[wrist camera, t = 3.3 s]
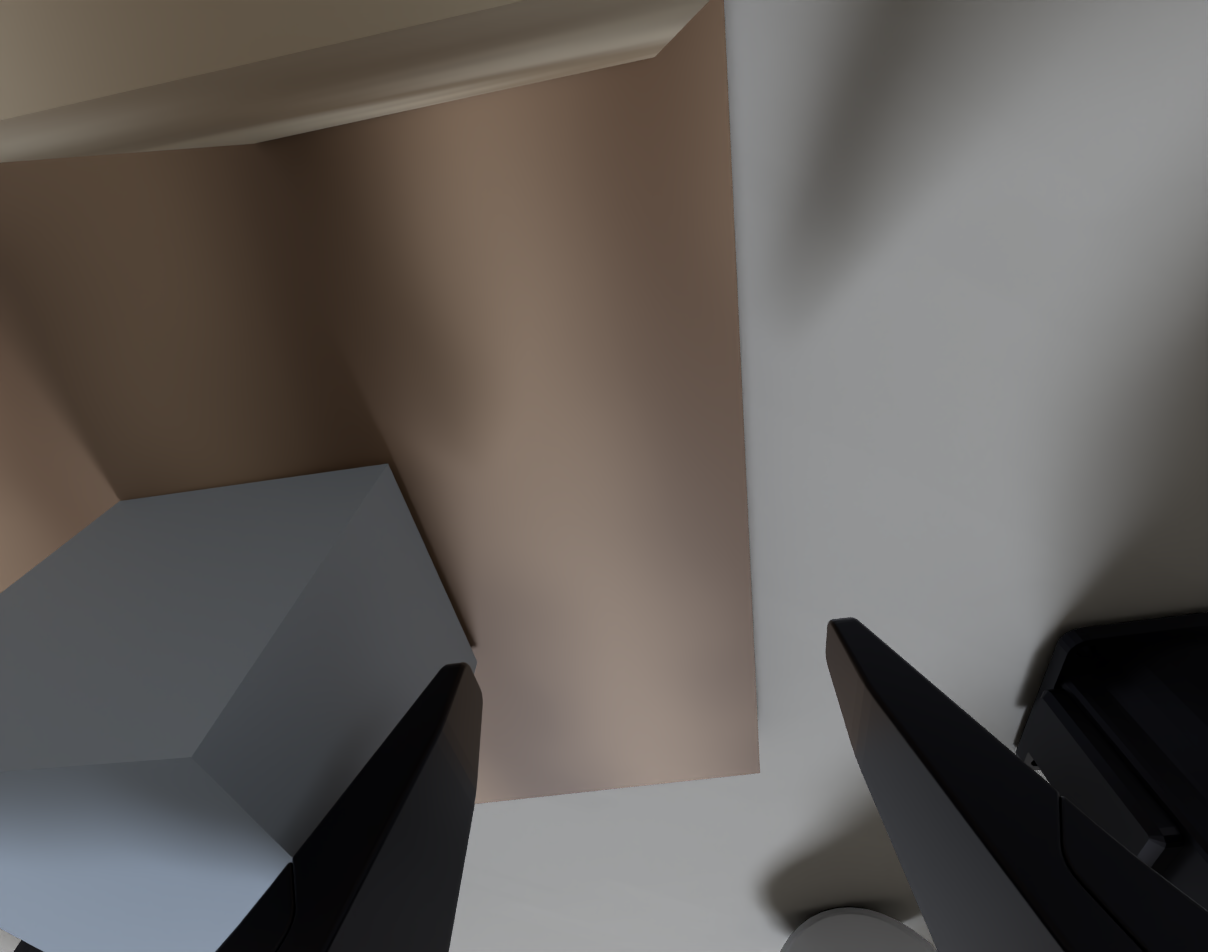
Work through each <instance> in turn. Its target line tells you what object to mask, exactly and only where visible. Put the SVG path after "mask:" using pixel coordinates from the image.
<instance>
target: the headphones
mask: <svg viewBox="0 0 1208 952" xmlns="http://www.w3.org/2000/svg"><path fill="white" fill-rule="evenodd" d="M780 952H938V951H937V950H936V949H935V948H934V947H933V946H932V945H931V944H930V943H929V942H928V941H927V940H925V939H924V938H923V937H922V936H920V935H919V934H918V933H917V932H915V931H914V930H912V929H911V928H909V927H908V926H906V925H904V924H903V923H901V922H899V921H898V920H896V919H893V918H891V917H889V916H886V915H884V914H882V913H878V912H875V911H871V910H868V909H861V908H852V907H848V908H835V909H831V910H828V911H824V912H821V913H819V914H817V915H815V916H813V917H811V918H809V919H808V920H807V921H805V922H804V923H803V924H801V925H800V926H799V927H798V928H797V929H796V930H795V931H794V932H793V933H792V934H791V935H790V937H789V938H788V940H787V941H786V943H785V944H784V946H783V948H782V949H781V951H780Z"/></svg>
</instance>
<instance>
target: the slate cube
mask: <svg viewBox="0 0 1208 952" xmlns="http://www.w3.org/2000/svg"><path fill="white" fill-rule="evenodd" d="M461 662H466V663H468V664H469V665H470V667H471V669H472V671H473V673H475V669H476V665H477V660H476V658H475V656H474V653H473V651H472V649H471V647H470V645H469V642H468V640H467V638H466V636H465V633H464V631H463V629H462V627H461V625H460V622H459V620H458V618H457V616H456V613H455V611H454V609H453V607H452V605H451V602H450V600H449V598H448V596H447V593H446V591H445V589H444V587H443V585H442V582H441V580H440V578H439V576H438V573H437V571H436V569H435V567H434V565H433V562H432V560H431V558H430V556H429V553H428V551H427V549H426V547H425V544H424V542H423V540H422V538H421V536H420V533H419V531H418V529H417V527H416V524H415V522H414V520H413V518H412V516H411V513H410V511H409V509H408V507H407V504H406V502H405V500H404V498H403V496H402V493H401V491H400V489H399V487H398V484H397V482H396V480H395V478H394V476H393V473H392V471H391V469H390V467H389V464H381V465H374V466H366V467H359V468H352V469H345V470H338V471H331V472H324V473H316V474H309V475H302V476H295V477H288V478H281V479H274V480H266V481H259V482H252V483H245V484H238V485H231V486H224V487H216V488H209V489H202V490H195V491H188V492H181V493H174V494H166V495H159V496H152V497H145V498H138V499H131V500H124V501H119V502H118V503H117V504H115V505H114V506H113V507H111V508H110V509H109V510H108V511H106V512H105V513H104V514H102V515H101V516H100V517H98V518H97V519H96V520H95V521H93V522H92V523H91V524H89V525H88V526H87V527H86V528H84V529H83V530H82V531H80V532H79V533H78V534H77V535H75V536H74V537H73V538H71V539H70V540H69V541H67V542H66V543H65V544H64V545H62V546H61V547H60V548H58V549H57V550H56V551H55V552H53V553H52V554H51V555H49V556H48V557H47V558H45V559H44V560H43V561H42V562H40V563H39V564H38V565H36V566H35V567H34V568H33V569H31V570H30V571H29V572H27V573H26V574H25V575H24V576H22V577H21V578H20V579H18V580H17V581H16V582H14V583H13V584H12V585H11V586H9V587H8V588H7V589H5V590H4V591H3V592H2V593H0V929H2V930H4V931H6V932H8V933H10V934H12V935H13V936H15V937H17V938H19V939H21V940H23V941H25V942H26V943H28V944H30V945H32V946H34V947H36V948H38V949H40V950H41V951H43V952H215V951H216V950H217V949H218V948H219V947H220V945H221V944H222V943H223V942H224V941H225V940H226V939H227V937H228V936H229V935H230V934H231V933H232V932H233V930H234V929H235V928H236V927H237V926H238V925H239V923H240V922H241V921H242V920H243V918H244V917H245V916H246V915H247V914H248V912H249V911H250V910H251V909H252V907H253V906H254V905H255V904H256V902H257V901H258V900H259V899H260V898H261V896H262V895H263V894H264V893H265V891H266V890H267V889H268V888H269V886H270V885H271V884H272V883H273V881H274V880H275V879H276V878H277V876H278V875H279V874H280V872H281V871H282V870H283V869H284V867H285V866H286V865H287V864H288V863H289V862H292V858H293V856H294V855H295V854H296V852H297V851H298V850H299V849H300V847H301V846H302V845H303V843H304V842H305V841H306V840H307V838H308V837H309V836H310V835H311V833H312V832H313V831H314V829H315V828H316V827H317V826H318V824H319V823H320V822H321V821H322V819H323V818H324V817H325V815H326V814H327V813H328V812H329V810H330V809H331V808H332V806H333V805H334V804H335V803H336V801H337V800H338V799H339V798H340V796H341V795H342V794H343V792H344V791H345V790H346V789H347V787H348V786H349V785H350V784H351V782H352V781H353V780H354V778H355V777H356V776H357V775H358V773H359V772H360V771H361V770H362V768H363V767H364V766H365V764H366V763H367V762H368V761H369V759H370V758H371V757H372V756H373V754H374V753H375V752H376V750H377V749H378V748H379V747H380V745H381V744H382V743H383V742H384V740H385V739H386V738H387V736H388V735H389V734H390V733H391V731H392V730H393V729H394V728H395V726H396V725H397V724H398V722H399V721H400V720H401V719H402V717H403V716H404V715H405V713H406V712H407V711H408V710H409V708H410V707H411V706H412V705H413V703H414V702H415V701H416V699H417V698H418V697H419V696H420V694H421V693H422V692H423V691H424V689H425V688H426V687H427V685H428V684H429V683H430V682H431V680H432V679H433V678H434V677H435V675H436V674H437V673H438V671H439V670H440V669H441V668H442V667H443V666H444V665H446V664H452V663H461Z"/></svg>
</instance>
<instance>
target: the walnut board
mask: <svg viewBox="0 0 1208 952" xmlns="http://www.w3.org/2000/svg"><path fill="white" fill-rule="evenodd" d="M381 464H389V467H390V469H391V471H392V473H393V476H394V478H395V480H396V482H397V484H398V487H399V489H400V491H401V493H402V496H403V498H404V500H405V502H406V504H407V507H408V509H409V511H410V513H411V516H412V518H413V520H414V522H415V524H416V527H417V529H418V531H419V533H420V536H421V538H422V540H423V542H424V544H425V547H426V549H427V551H428V553H429V556H430V558H431V560H432V562H433V565H434V567H435V569H436V571H437V573H438V576H439V578H440V580H441V582H442V585H443V587H444V589H445V591H446V593H447V596H448V598H449V600H450V602H451V605H452V607H453V609H454V611H455V613H456V616H457V618H458V620H459V622H460V625H461V627H462V629H463V631H464V633H465V636H466V638H467V640H468V642H469V645H470V647H471V649H472V651H473V653H474V656H475V658H476V660H477V665H476V669H475V673H474V676H475V678H476V680H477V682H478V684H479V686H480V689H481V691H482V696H483V710H482V724H481V738H480V753H479V767H478V780H477V791H476V798H475V804H479V803H488V802H497V801H506V800H516V799H525V798H534V797H543V796H552V795H562V794H571V793H580V792H589V791H598V790H608V789H617V788H626V787H635V786H645V785H654V784H663V783H672V782H681V781H691V780H700V779H709V778H718V777H727V776H737V775H746V774H755V773H760V763H759V742H758V720H757V699H756V678H755V656H754V635H753V614H752V592H751V571H750V550H749V528H748V507H747V486H746V464H745V443H744V422H743V400H742V379H741V358H740V336H739V315H738V294H737V272H736V251H735V230H734V208H733V187H732V166H731V144H730V123H729V102H728V80H727V59H726V38H725V16H724V0H709V1H708V2H707V4H706V5H705V6H704V7H703V8H702V9H701V10H700V11H699V12H698V13H697V14H696V15H695V16H694V17H693V18H692V19H691V20H690V21H689V22H688V23H687V24H686V25H685V26H684V27H683V28H682V29H681V30H680V31H679V32H678V33H677V34H676V36H675V37H674V38H673V39H672V40H671V41H670V42H669V43H668V44H667V45H666V46H665V47H664V48H663V49H662V50H661V51H660V52H659V53H658V54H657V55H656V56H655V57H653V58H648V59H644V60H639V61H634V62H630V63H625V64H620V65H616V66H611V67H606V68H602V69H597V70H593V71H588V72H583V73H579V74H574V75H569V76H565V77H560V78H556V79H551V80H546V81H542V82H537V83H532V84H528V85H523V86H518V87H514V88H509V89H505V90H500V91H495V92H491V93H486V94H481V95H477V96H472V97H468V98H463V99H458V100H454V101H449V102H444V103H440V104H435V105H430V106H426V107H421V108H417V109H412V110H407V111H403V112H398V113H393V114H389V115H384V116H380V117H375V118H370V119H366V120H361V121H356V122H352V123H347V124H342V125H338V126H333V127H329V128H324V129H319V130H315V131H310V132H305V133H301V134H296V135H292V136H287V137H282V138H278V139H273V140H268V141H264V142H259V143H254V144H243V145H230V146H216V147H203V148H189V149H176V150H163V151H149V152H136V153H122V154H109V155H96V156H82V157H69V158H56V159H42V160H29V161H15V162H2V163H0V593H2V592H3V591H4V590H5V589H7V588H8V587H9V586H11V585H12V584H13V583H14V582H16V581H17V580H18V579H20V578H21V577H22V576H24V575H25V574H26V573H27V572H29V571H30V570H31V569H33V568H34V567H35V566H36V565H38V564H39V563H40V562H42V561H43V560H44V559H45V558H47V557H48V556H49V555H51V554H52V553H53V552H55V551H56V550H57V549H58V548H60V547H61V546H62V545H64V544H65V543H66V542H67V541H69V540H70V539H71V538H73V537H74V536H75V535H77V534H78V533H79V532H80V531H82V530H83V529H84V528H86V527H87V526H88V525H89V524H91V523H92V522H93V521H95V520H96V519H97V518H98V517H100V516H101V515H102V514H104V513H105V512H106V511H108V510H109V509H110V508H111V507H113V506H114V505H115V504H117V503H118V502H119V501H124V500H131V499H138V498H145V497H152V496H159V495H166V494H174V493H181V492H188V491H195V490H202V489H209V488H216V487H224V486H231V485H238V484H245V483H252V482H259V481H266V480H274V479H281V478H288V477H295V476H302V475H309V474H316V473H324V472H331V471H338V470H345V469H352V468H359V467H366V466H374V465H381Z"/></svg>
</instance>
